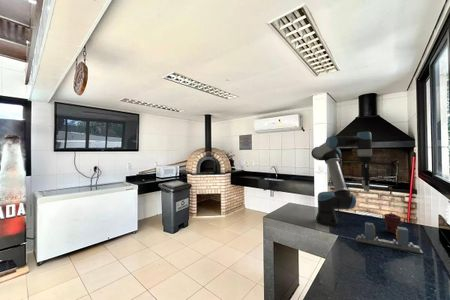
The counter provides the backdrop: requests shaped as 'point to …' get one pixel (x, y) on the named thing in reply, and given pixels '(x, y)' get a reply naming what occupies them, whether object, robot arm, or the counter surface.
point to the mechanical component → (392, 222)
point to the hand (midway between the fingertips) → (365, 188)
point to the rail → (385, 243)
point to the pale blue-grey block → (402, 236)
